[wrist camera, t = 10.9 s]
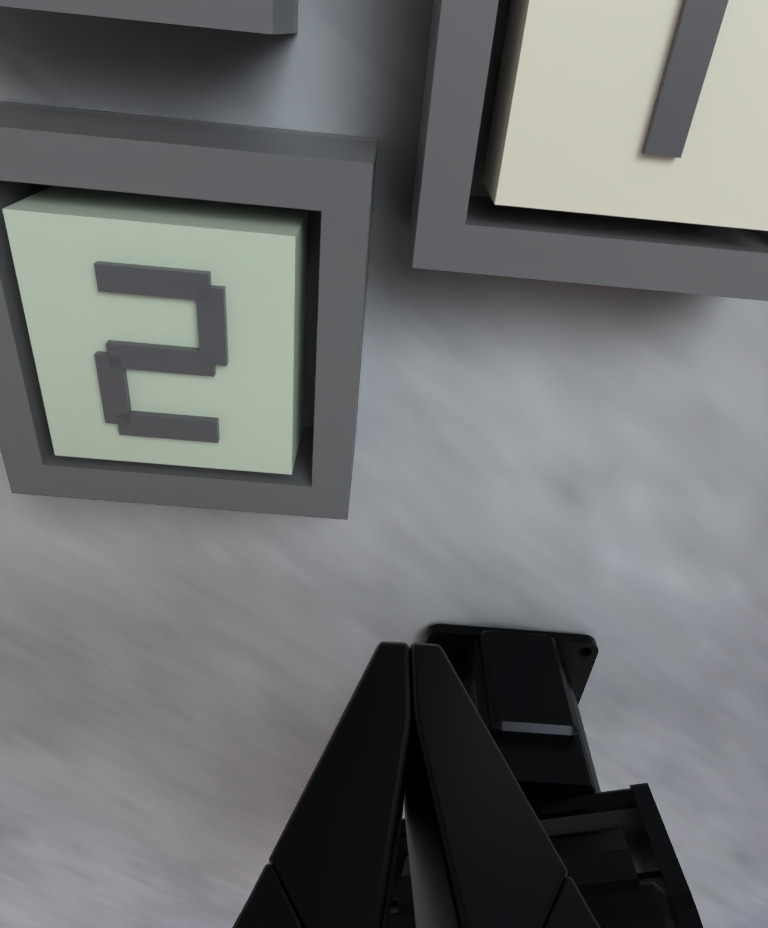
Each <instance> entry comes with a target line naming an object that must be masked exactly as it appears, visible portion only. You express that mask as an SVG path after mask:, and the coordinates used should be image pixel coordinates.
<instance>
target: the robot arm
mask: <svg viewBox="0 0 768 928" xmlns="http://www.w3.org/2000/svg"><path fill="white" fill-rule="evenodd" d="M437 637H443V638H437ZM582 648H583V649H582ZM597 654H598V647H597V644H596V641H595V639H594V638H593V637H591V636H588V635H579V634H566V633H552V632H539V631H526V630H512V629H499V628H486V627H472V626H459V625H445V624H437V625H434V626H431V627H430V628H429V629H428V630H427V633H426V639H425V643H413V644H412V645H411V646H410V649H409V646H408V644H407V643H404V642H381V643H379V645H378V646H377V648H376V649H375V651H374V653H373V655H372V657H371V659H370V661H369V663H368V665H367V667H366V669H365V671H364V673H363V675H362V677H361V679H360V681H359V683H358V685H357V687H356V689H355V691H354V693H353V695H352V697H351V699H350V701H349V703H348V704H347V706H346V708H345V710H344V712H343V714H342V716H341V718H340V720H339V722H338V724H337V726H336V728H335V730H334V732H333V734H332V736H331V738H330V740H329V742H328V744H327V746H326V748H325V750H324V752H323V754H322V756H321V758H320V760H319V762H318V763H317V765H316V767H315V769H314V771H313V773H312V775H311V777H310V779H309V781H308V783H307V785H306V787H305V789H304V791H303V793H302V795H301V797H300V799H299V801H298V803H297V805H296V807H295V809H294V811H293V813H292V815H291V817H290V819H289V820H288V822H287V824H286V826H285V828H284V830H283V832H282V834H281V836H280V838H279V840H278V842H277V844H276V846H275V848H274V850H273V852H272V854H271V856H270V858H269V864H267V865H265V867H264V869H263V871H262V873H261V875H260V877H259V879H258V881H257V883H256V885H255V886H254V888H253V890H252V892H251V894H250V896H249V898H248V900H247V902H246V904H245V905H244V907H243V909H242V911H241V913H240V915H239V916H238V918H237V920H236V922H235V924H234V925H233V927H232V928H703V926H702V923H701V920H700V917H699V914H698V911H697V908H696V905H695V903H694V900H693V897H692V895H691V892H690V889H689V887H688V884H687V882H686V879H685V877H684V874H683V872H682V869H681V867H680V864H679V862H678V859H677V857H676V854H675V851H674V849H673V846H672V844H671V841H670V839H669V836H668V834H667V831H666V829H665V826H664V824H663V821H662V819H661V816H660V814H659V811H658V808H657V806H656V803H655V801H654V798H653V796H652V793H651V791H650V788H649V786H648V783H642V784H635V785H630V788H629V789H621V790H614V791H606V792H601V791H600V787H599V784H598V780H597V776H596V772H595V769H594V765H593V761H592V757H591V754H590V750H589V746H588V742H587V738H586V735H585V731H584V727H583V723H582V720H581V716H580V712H579V708H578V704H579V701H580V699H581V696H582V693H583V691H584V688H585V685H586V683H587V680H588V678H589V675H590V672H591V670H592V667H593V665H594V662H595V659H596V657H597ZM403 804H404V809H405V818H404V819H402V813H403Z"/></svg>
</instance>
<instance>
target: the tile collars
mask: <svg viewBox="0 0 768 928" xmlns="http://www.w3.org/2000/svg"><path fill="white" fill-rule="evenodd" d="M510 1H511V0H434V1H433V10H432V20H431V29H430V38H429V48H428V57H427V67H426V76H425V86H424V95H423V105H422V114H421V124H420V133H419V143H418V152H417V162H416V171H415V181H414V190H413V200H412V209H411V218H410V240H411V256H412V268H419V269H430V270H440V271H451V272H462V273H473V274H483V275H494V276H505V277H516V278H526V279H537V280H548V281H559V282H570V283H580V284H591V285H602V286H613V287H623V288H634V289H645V290H656V291H666V292H677V293H688V294H699V295H710V296H720V297H731V298H742V299H753V300H763V301H768V231H764V230H753V229H743V228H733V227H722V226H712V225H702V224H691V223H681V222H670V221H660V220H650V219H639V218H629V217H619V216H608V215H598V214H588V213H577V212H567V211H556V210H546V209H536V208H525V207H515V206H505V205H495V204H494V202H493V201H492V199H491V197H490V195H489V193H488V192H487V190H486V188H485V186H484V184H483V182H482V179H483V172H484V166H485V160H486V153H487V147H488V141H489V134H490V128H491V122H492V115H493V109H494V103H495V96H496V90H497V83H498V77H499V71H500V64H501V58H502V52H503V45H504V39H505V33H506V26H507V20H508V13H509V7H510ZM0 6H3V7H13V8H23V9H32V10H42V11H52V12H61V13H71V14H80V15H90V16H100V17H109V18H119V19H128V20H138V21H148V22H157V23H167V24H176V25H186V26H196V27H205V28H215V29H225V30H234V31H244V32H253V33H263V34H291V33H297V24H298V0H0ZM377 143H378V139H377V138H367V137H357V136H347V135H337V134H326V133H316V132H306V131H296V130H286V129H276V128H266V127H256V126H246V125H236V124H226V123H216V122H206V121H195V120H185V119H175V118H165V117H155V116H145V115H135V114H125V113H115V112H105V111H95V110H85V109H75V108H65V107H54V106H44V105H34V104H24V103H14V102H0V449H1V453H2V456H3V460H4V464H5V468H6V472H7V475H8V479H9V483H10V487H11V490H12V493H19V494H31V495H44V496H56V497H69V498H82V499H94V500H107V501H119V502H132V503H144V504H157V505H169V506H182V507H194V508H207V509H219V510H232V511H245V512H257V513H270V514H282V515H295V516H307V517H320V518H332V519H345V520H347V518H348V508H349V498H350V489H351V479H352V469H353V459H354V449H355V436H356V422H357V409H358V396H359V382H360V369H361V356H362V342H363V329H364V316H365V303H366V289H367V276H368V263H369V249H370V236H371V223H372V209H373V196H374V183H375V169H376V156H377ZM51 186H61V187H71V188H82V189H92V190H103V191H113V192H124V193H134V194H145V195H155V196H166V197H176V198H187V199H197V200H208V201H218V202H229V203H239V204H250V205H260V206H271V207H281V208H292V209H302V210H308V242H307V281H306V321H305V361H304V401H303V429H302V434H301V438H300V442H299V446H298V451H297V455H296V459H295V463H294V467H293V472H292V475H289V474H277V473H264V472H252V471H240V470H228V469H215V468H203V467H191V466H179V465H167V464H154V463H142V462H130V461H118V460H105V459H93V458H81V457H69V456H57V455H55V453H54V449H53V444H52V439H51V435H50V430H49V425H48V421H47V416H46V411H45V407H44V402H43V397H42V393H41V388H40V383H39V379H38V374H37V369H36V365H35V360H34V355H33V350H32V346H31V341H30V336H29V332H28V327H27V322H26V318H25V313H24V308H23V304H22V299H21V294H20V290H19V285H18V280H17V276H16V271H15V266H14V262H13V257H12V252H11V248H10V243H9V238H8V233H7V229H6V224H5V219H4V215H3V210H2V209H3V208H5V207H7V206H10V205H12V204H14V203H16V202H18V201H20V200H23V199H25V198H27V197H29V196H31V195H34V194H36V193H38V192H40V191H42V190H44V189H47V188H49V187H51Z"/></svg>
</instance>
